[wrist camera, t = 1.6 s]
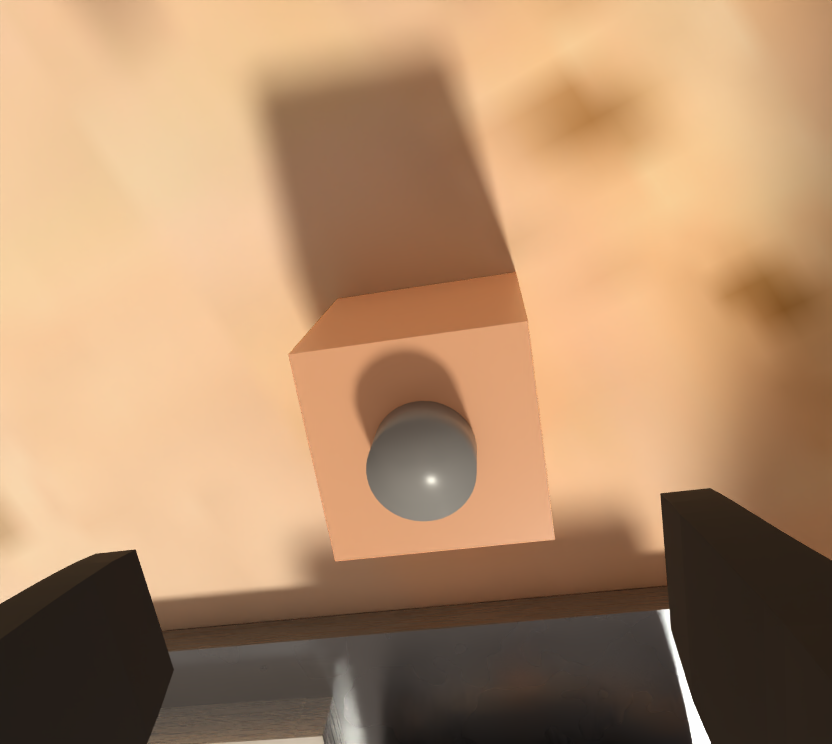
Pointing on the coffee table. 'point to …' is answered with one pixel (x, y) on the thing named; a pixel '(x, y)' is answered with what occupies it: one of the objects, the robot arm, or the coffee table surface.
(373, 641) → the motor mount
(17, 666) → the robot arm
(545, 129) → the coffee table surface
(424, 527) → the cube with grey knob
